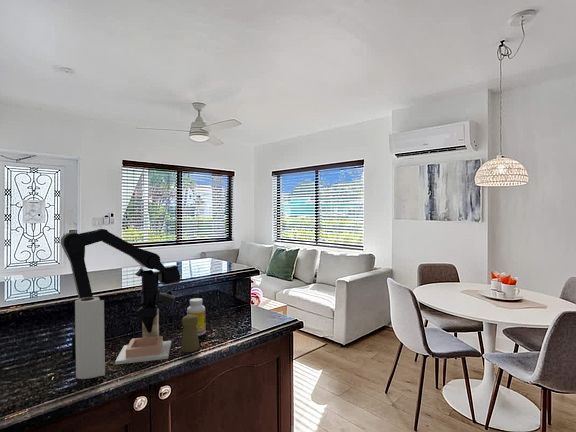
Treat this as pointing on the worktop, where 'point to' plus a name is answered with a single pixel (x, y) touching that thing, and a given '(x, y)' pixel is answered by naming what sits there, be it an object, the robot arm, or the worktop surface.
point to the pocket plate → (144, 350)
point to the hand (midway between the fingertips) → (150, 329)
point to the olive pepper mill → (190, 334)
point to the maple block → (154, 328)
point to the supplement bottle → (198, 314)
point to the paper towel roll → (89, 337)
